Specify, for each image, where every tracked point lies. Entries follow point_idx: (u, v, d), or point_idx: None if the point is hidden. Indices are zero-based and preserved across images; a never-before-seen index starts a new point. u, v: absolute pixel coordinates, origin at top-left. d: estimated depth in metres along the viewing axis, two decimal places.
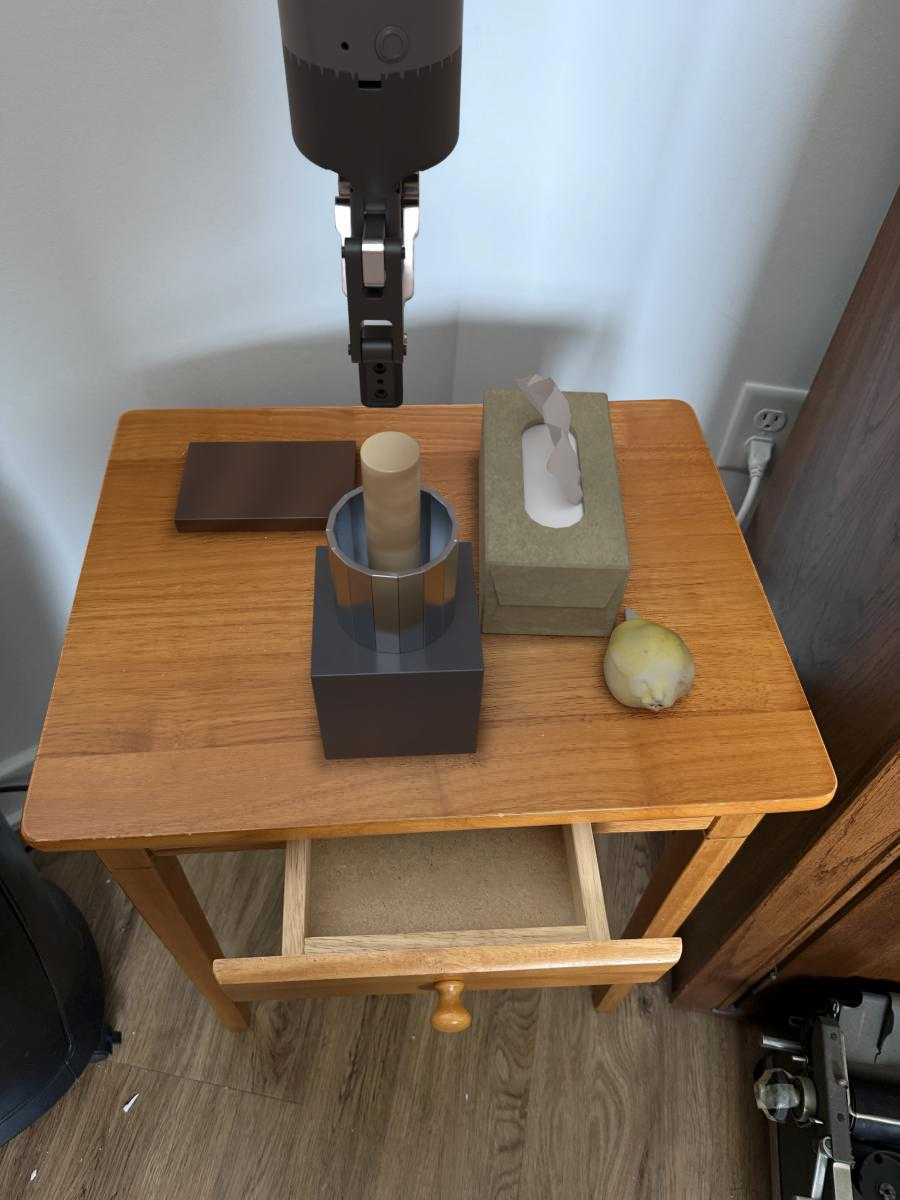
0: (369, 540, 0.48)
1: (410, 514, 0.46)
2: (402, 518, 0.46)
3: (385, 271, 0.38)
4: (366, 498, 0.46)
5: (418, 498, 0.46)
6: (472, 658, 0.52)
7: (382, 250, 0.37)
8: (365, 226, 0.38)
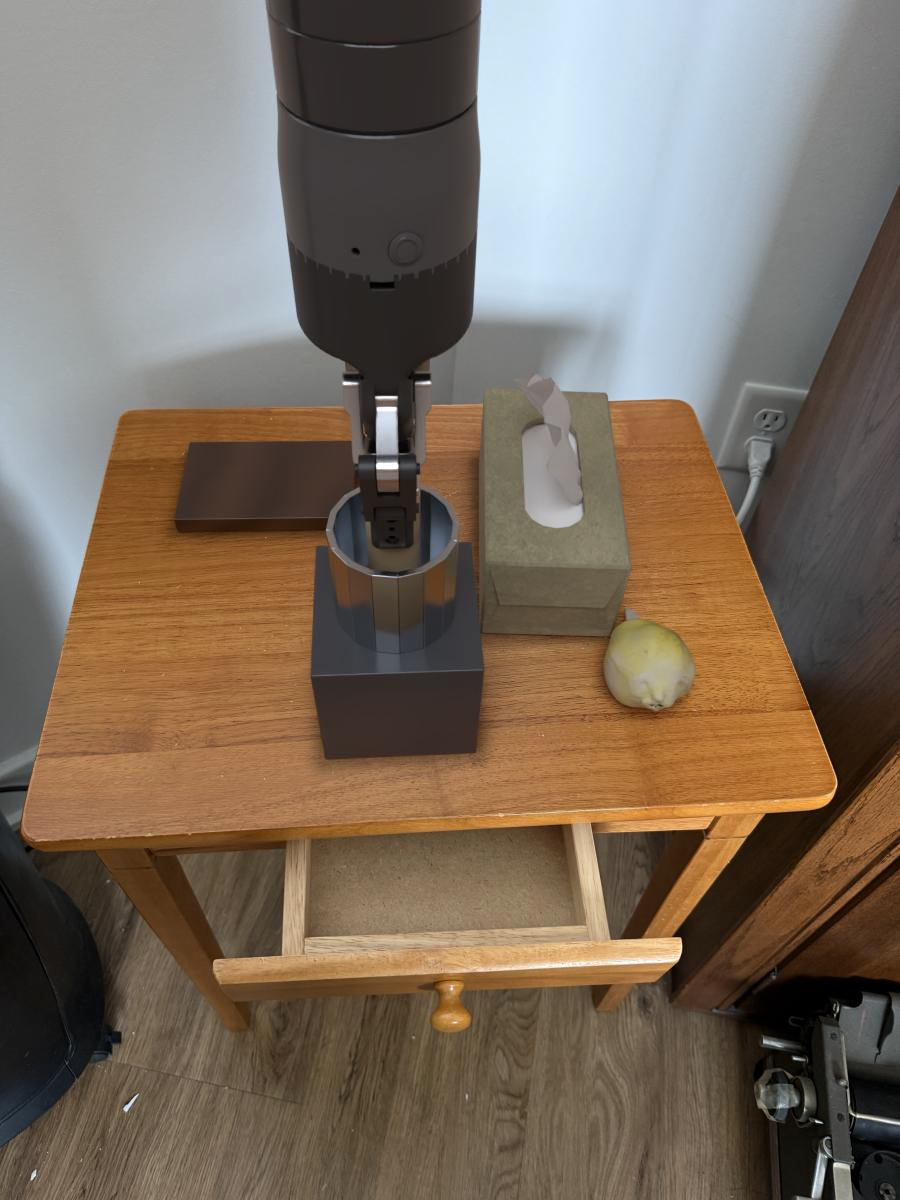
0: (369, 540, 0.48)
1: None
2: None
3: (400, 487, 0.38)
4: None
5: (418, 498, 0.46)
6: (472, 658, 0.52)
7: (397, 476, 0.37)
8: (377, 434, 0.37)
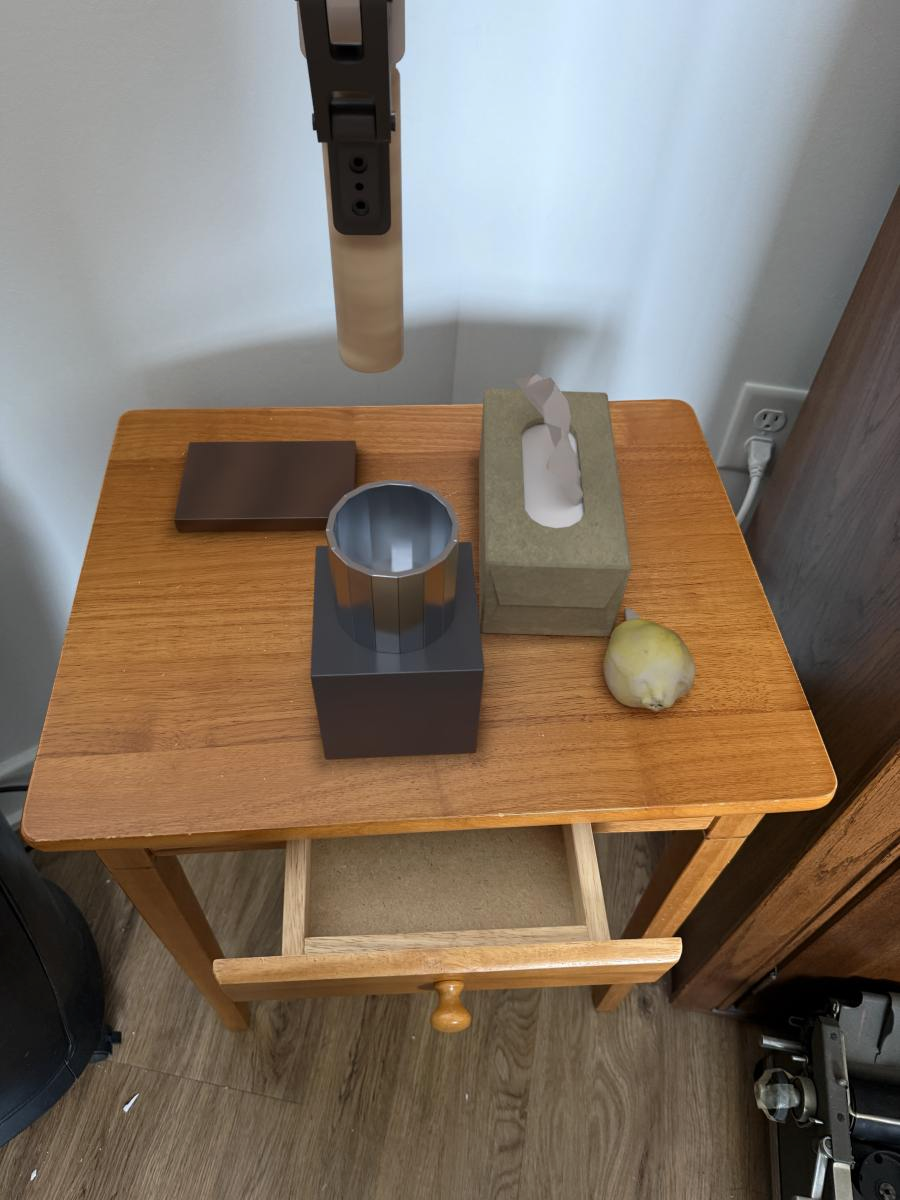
0: (333, 236, 0.36)
1: None
2: None
3: (362, 25, 0.25)
4: (326, 155, 0.33)
5: (398, 160, 0.34)
6: (472, 658, 0.52)
7: None
8: None
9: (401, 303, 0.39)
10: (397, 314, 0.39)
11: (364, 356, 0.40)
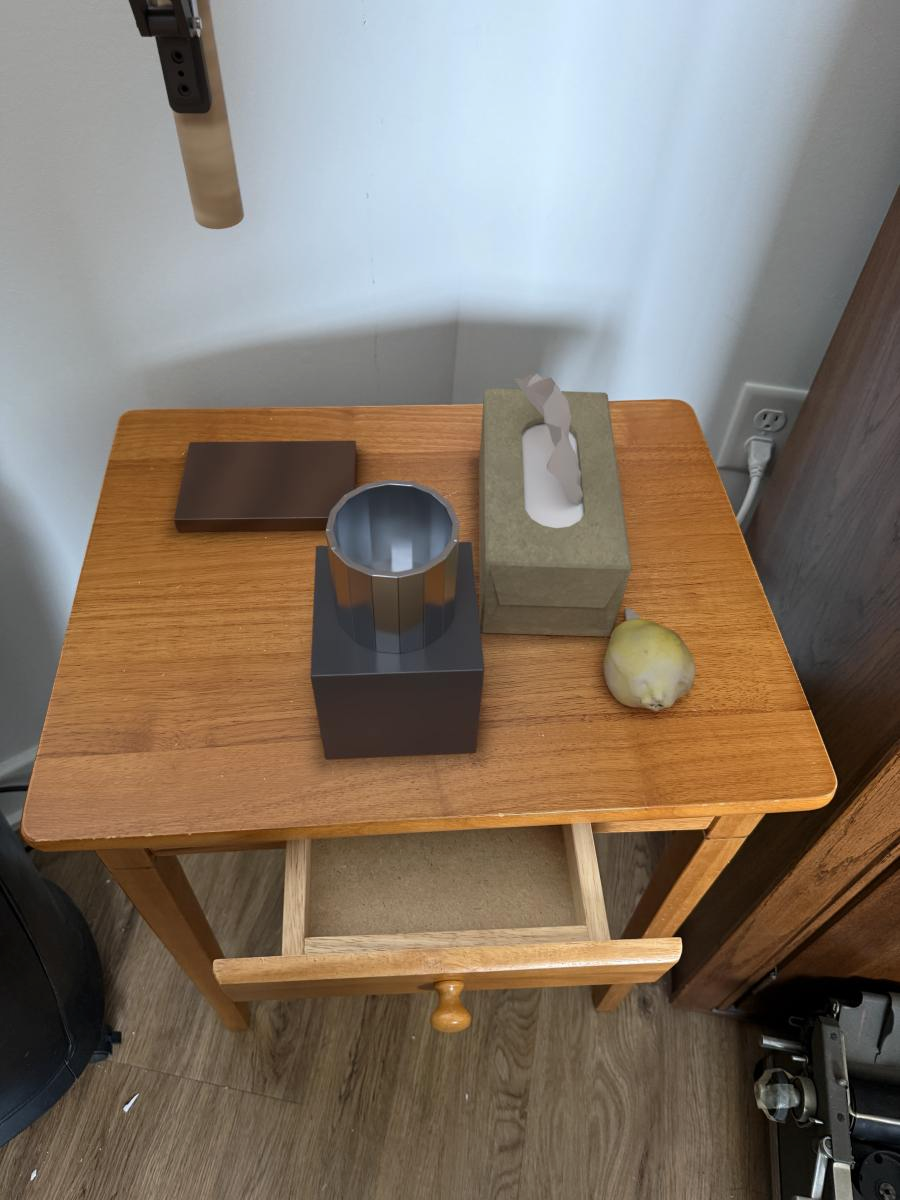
0: (175, 117, 0.50)
1: None
2: None
3: None
4: None
5: (214, 58, 0.48)
6: (472, 658, 0.52)
7: None
8: None
9: (234, 173, 0.53)
10: (231, 181, 0.53)
11: (210, 214, 0.53)
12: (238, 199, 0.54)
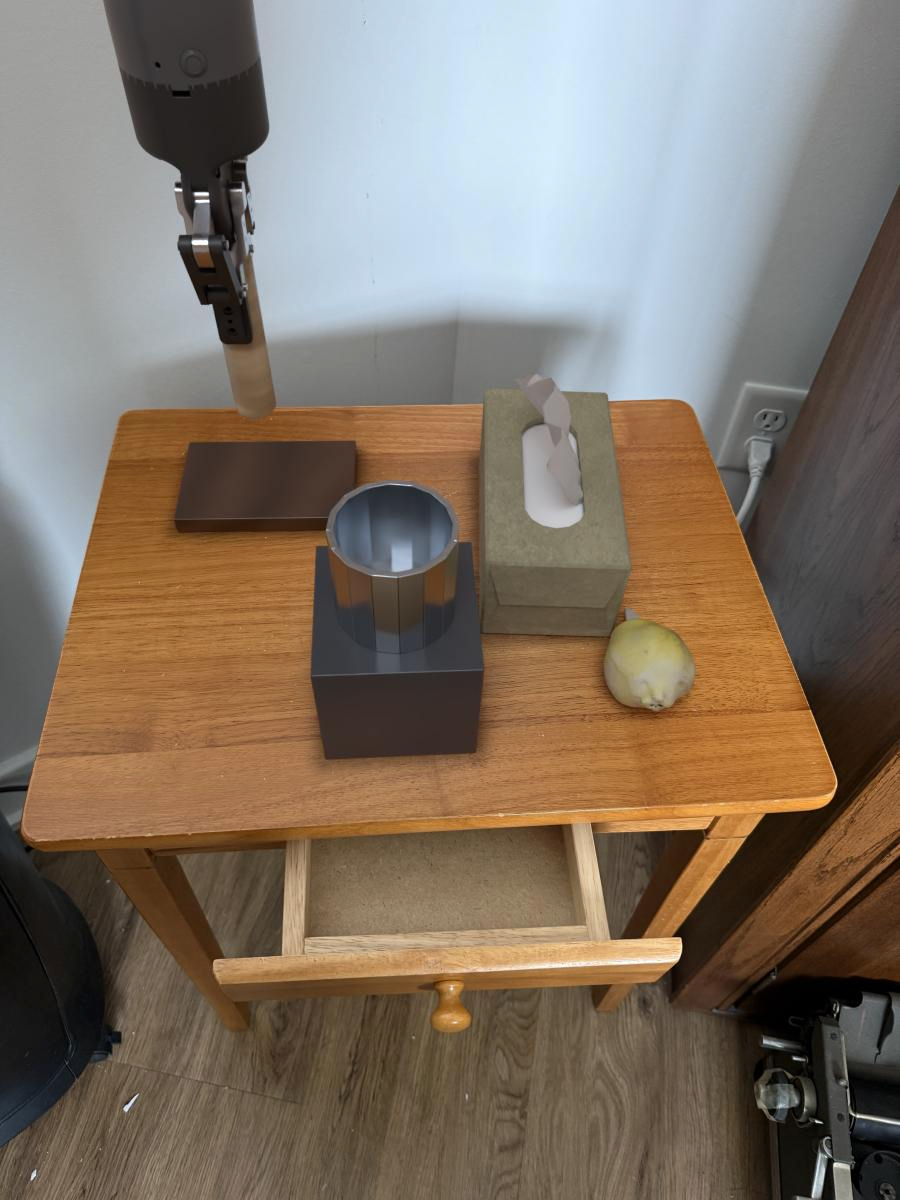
0: None
1: None
2: None
3: (213, 261, 0.51)
4: None
5: (256, 302, 0.59)
6: (472, 658, 0.52)
7: (208, 249, 0.50)
8: (194, 219, 0.50)
9: (269, 377, 0.64)
10: (267, 384, 0.64)
11: (249, 409, 0.65)
12: (272, 395, 0.65)
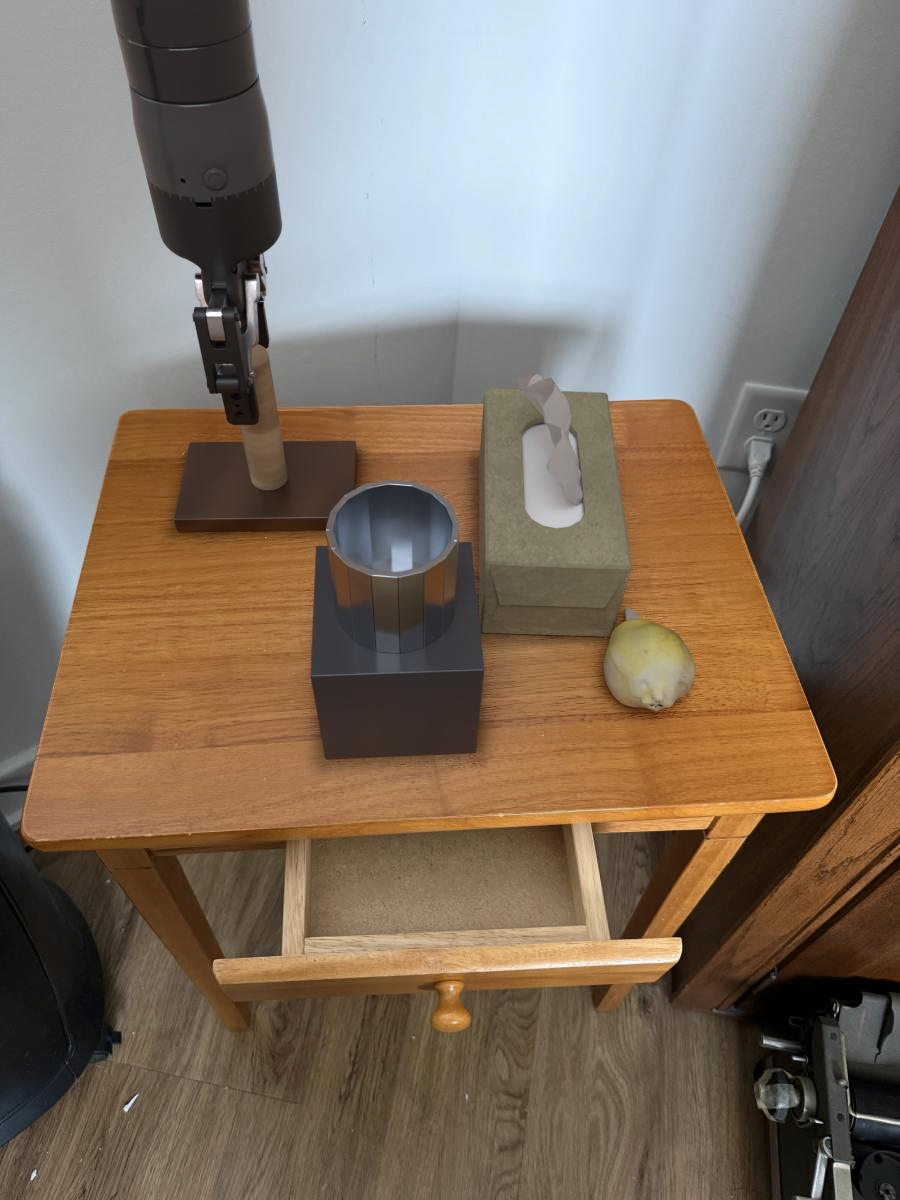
0: (240, 425, 0.67)
1: (265, 403, 0.65)
2: (260, 406, 0.65)
3: (224, 330, 0.54)
4: None
5: (271, 392, 0.65)
6: (472, 658, 0.52)
7: (221, 316, 0.53)
8: (211, 298, 0.54)
9: (282, 454, 0.70)
10: (280, 460, 0.70)
11: (263, 482, 0.71)
12: (284, 469, 0.71)
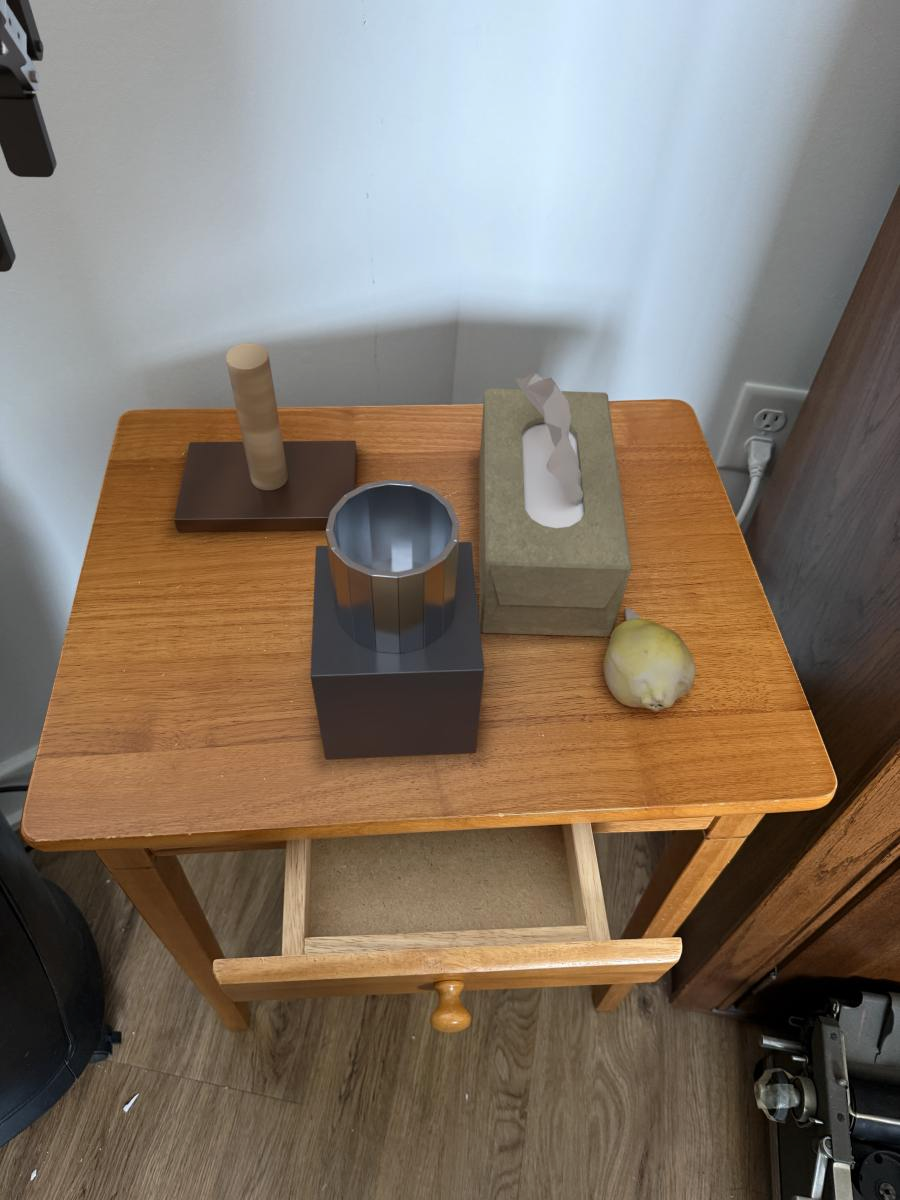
0: (240, 425, 0.67)
1: (265, 403, 0.65)
2: (260, 406, 0.65)
3: None
4: (233, 391, 0.65)
5: (271, 392, 0.65)
6: (472, 658, 0.52)
7: None
8: None
9: (282, 454, 0.70)
10: (280, 460, 0.70)
11: (263, 482, 0.71)
12: (284, 469, 0.71)
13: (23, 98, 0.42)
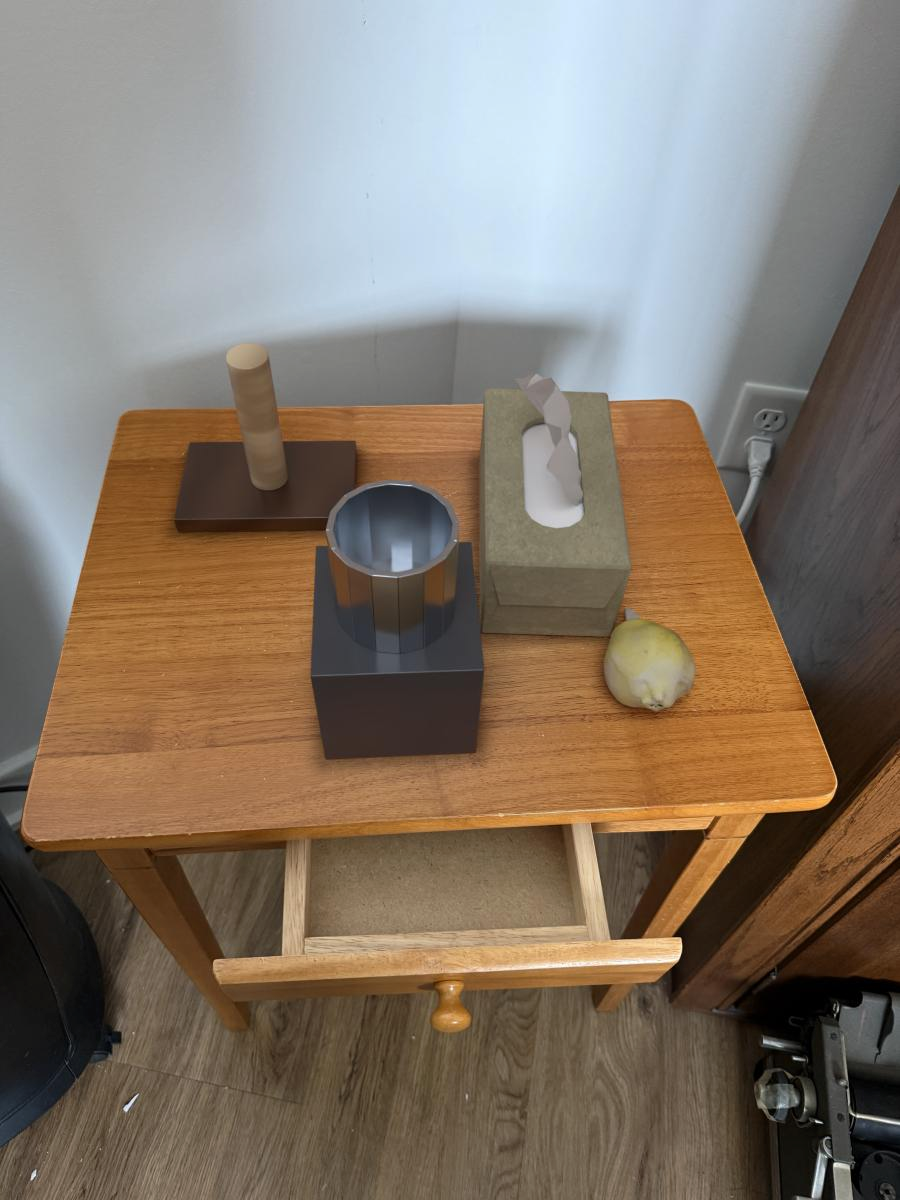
0: (240, 425, 0.67)
1: (265, 403, 0.65)
2: (260, 406, 0.65)
3: None
4: (233, 391, 0.65)
5: (271, 392, 0.65)
6: (472, 658, 0.52)
7: None
8: None
9: (282, 454, 0.70)
10: (280, 460, 0.70)
11: (263, 482, 0.71)
12: (284, 469, 0.71)
13: None
